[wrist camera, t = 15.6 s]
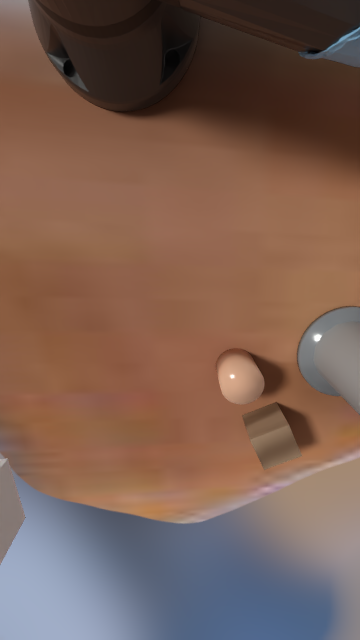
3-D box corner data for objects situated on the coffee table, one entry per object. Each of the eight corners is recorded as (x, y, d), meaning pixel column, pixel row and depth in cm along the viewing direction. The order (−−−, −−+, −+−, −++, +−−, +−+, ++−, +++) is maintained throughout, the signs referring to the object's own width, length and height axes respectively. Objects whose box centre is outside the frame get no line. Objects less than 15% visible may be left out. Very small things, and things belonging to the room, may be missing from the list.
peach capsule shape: (214, 349, 38) (219, 366, 33) (253, 346, 38) (264, 363, 33) (216, 384, 40) (221, 405, 35) (254, 381, 39) (264, 402, 35)
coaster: (298, 309, 36) (301, 311, 36) (397, 302, 36) (402, 304, 35) (295, 395, 40) (297, 399, 39) (385, 389, 40) (389, 392, 39)
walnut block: (241, 415, 41) (249, 439, 36) (276, 401, 40) (288, 424, 36) (254, 442, 42) (264, 469, 37) (288, 430, 42) (302, 456, 37)
